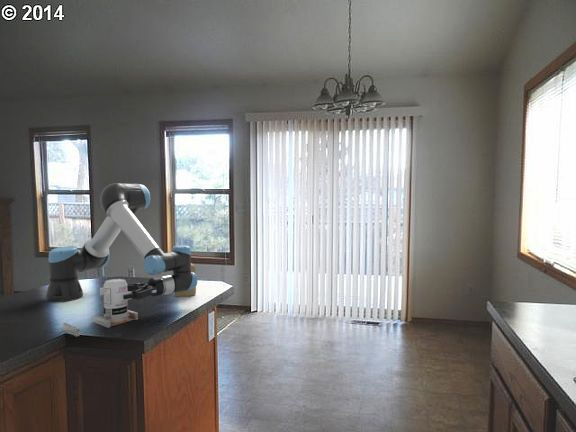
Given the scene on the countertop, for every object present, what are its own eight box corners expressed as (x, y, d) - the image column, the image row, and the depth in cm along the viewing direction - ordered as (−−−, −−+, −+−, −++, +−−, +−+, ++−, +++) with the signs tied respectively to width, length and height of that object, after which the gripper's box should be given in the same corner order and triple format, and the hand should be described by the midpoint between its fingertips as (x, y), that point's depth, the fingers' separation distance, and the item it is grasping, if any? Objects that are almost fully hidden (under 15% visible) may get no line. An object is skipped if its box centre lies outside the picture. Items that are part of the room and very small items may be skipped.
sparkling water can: (108, 317, 152) (107, 278, 151) (130, 316, 153) (129, 278, 152) (100, 323, 144) (99, 283, 143) (124, 323, 145) (123, 282, 144)
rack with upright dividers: (62, 330, 137) (62, 323, 137) (123, 314, 156) (123, 308, 156) (76, 336, 131) (76, 329, 131) (137, 319, 150) (137, 312, 150)
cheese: (173, 286, 204) (172, 258, 203) (192, 285, 207) (192, 257, 206) (174, 297, 183) (174, 265, 182) (196, 295, 186) (195, 264, 185)
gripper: (175, 300, 151) (119, 312, 137) (147, 289, 169) (95, 298, 155) (175, 281, 151) (119, 290, 136) (147, 272, 169) (95, 279, 154)
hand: (106, 294), depth 145 cm, fingers open, 13 cm apart
